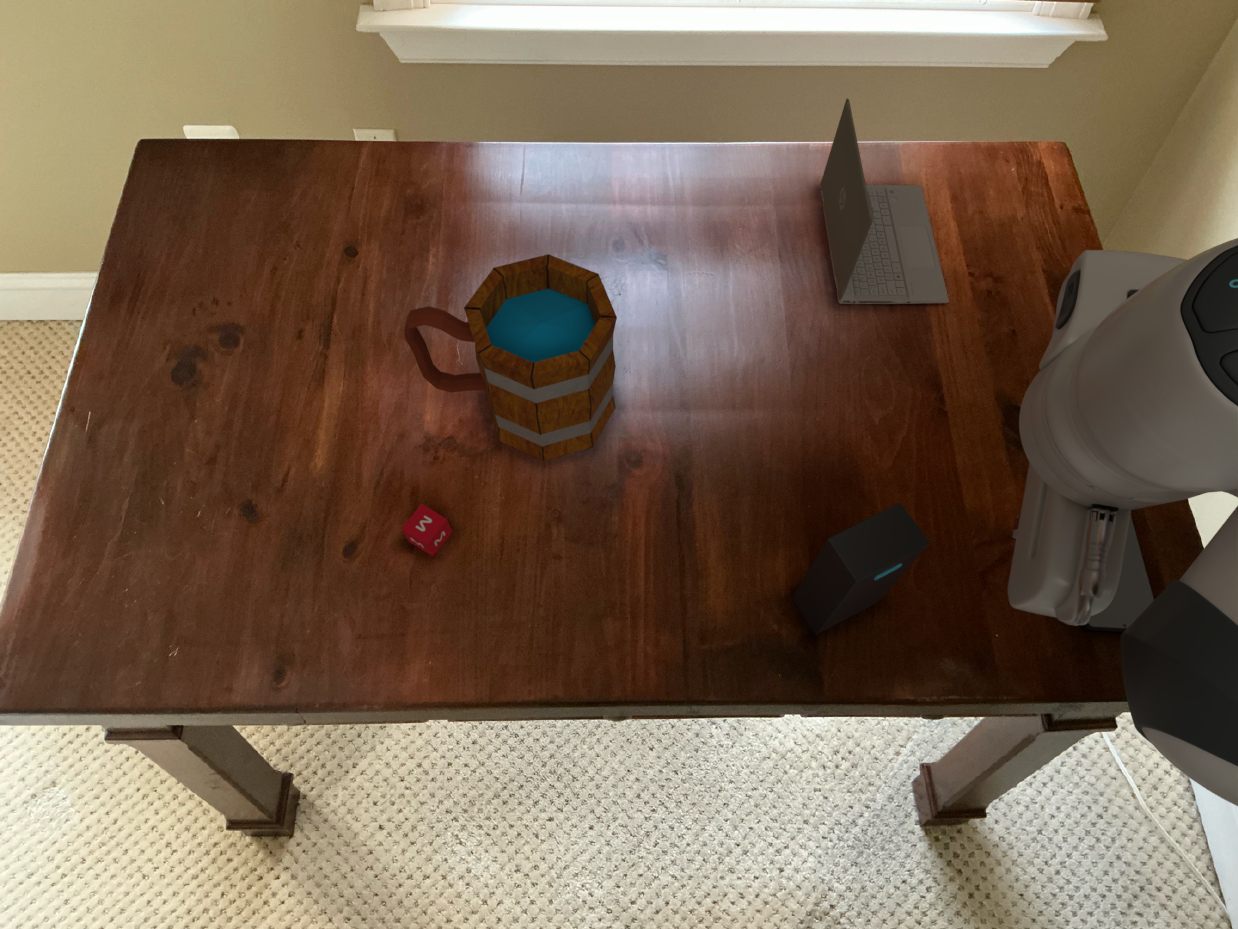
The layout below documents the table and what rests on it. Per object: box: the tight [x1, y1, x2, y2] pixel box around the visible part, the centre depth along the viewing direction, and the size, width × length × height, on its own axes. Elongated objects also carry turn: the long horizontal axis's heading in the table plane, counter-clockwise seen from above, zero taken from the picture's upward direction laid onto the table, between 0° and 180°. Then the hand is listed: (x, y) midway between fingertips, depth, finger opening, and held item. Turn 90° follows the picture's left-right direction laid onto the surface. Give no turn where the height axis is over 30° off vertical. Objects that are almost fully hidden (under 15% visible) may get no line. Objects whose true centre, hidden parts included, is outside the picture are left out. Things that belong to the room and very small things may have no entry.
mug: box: [403, 254, 618, 462], centre depth 79 cm, size 20×14×15 cm
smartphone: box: [1083, 513, 1155, 633], centre depth 78 cm, size 7×1×15 cm
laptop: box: [819, 97, 950, 305], centre depth 91 cm, size 18×12×13 cm
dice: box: [401, 503, 453, 557], centre depth 77 cm, size 3×3×3 cm
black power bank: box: [791, 502, 931, 636], centre depth 70 cm, size 4×7×14 cm, turn 117°
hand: (1039, 459), depth 54 cm, fingers open, 8 cm apart
